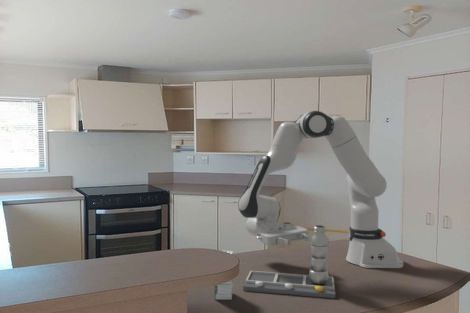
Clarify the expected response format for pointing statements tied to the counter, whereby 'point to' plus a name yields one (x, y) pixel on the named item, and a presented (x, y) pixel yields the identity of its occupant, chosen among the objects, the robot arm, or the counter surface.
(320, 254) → the plastic bottle
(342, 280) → the counter surface
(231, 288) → the syrup box
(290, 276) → the board
